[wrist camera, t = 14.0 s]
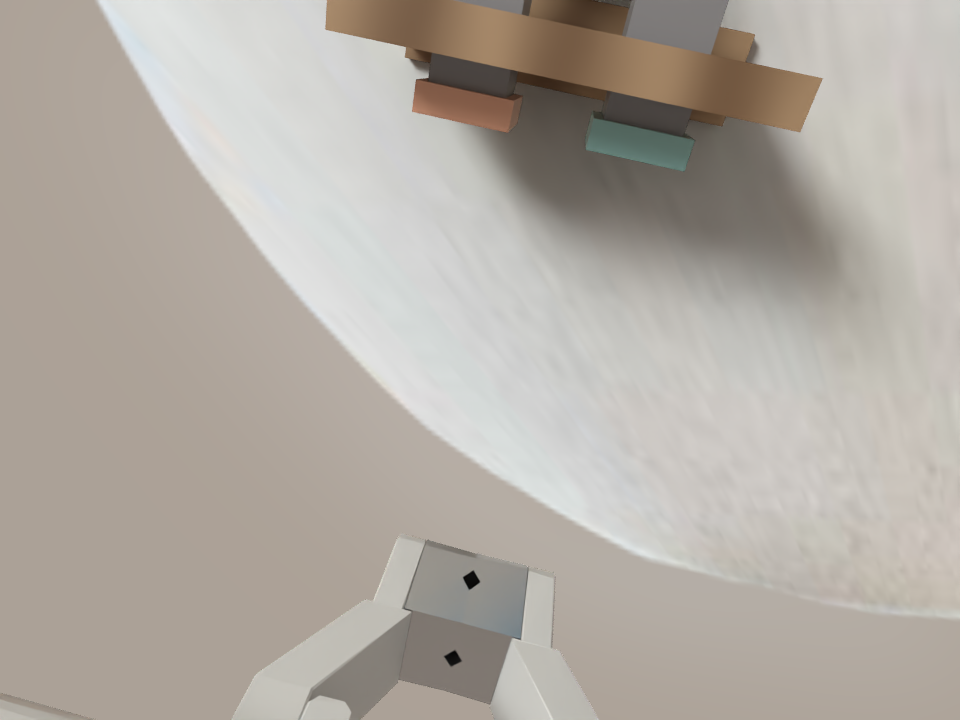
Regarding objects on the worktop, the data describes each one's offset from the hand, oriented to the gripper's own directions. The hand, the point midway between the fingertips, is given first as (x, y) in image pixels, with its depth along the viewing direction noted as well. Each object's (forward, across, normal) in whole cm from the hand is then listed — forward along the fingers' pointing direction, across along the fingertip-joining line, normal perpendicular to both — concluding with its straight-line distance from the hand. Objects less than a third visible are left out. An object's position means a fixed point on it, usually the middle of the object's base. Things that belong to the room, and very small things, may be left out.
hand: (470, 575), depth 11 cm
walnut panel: (+33, +1, -9) cm, 34 cm away
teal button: (+29, -4, -9) cm, 30 cm away
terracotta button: (+29, +6, -9) cm, 30 cm away
